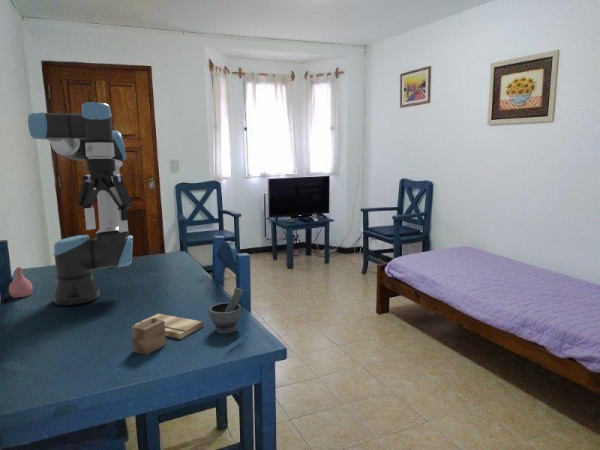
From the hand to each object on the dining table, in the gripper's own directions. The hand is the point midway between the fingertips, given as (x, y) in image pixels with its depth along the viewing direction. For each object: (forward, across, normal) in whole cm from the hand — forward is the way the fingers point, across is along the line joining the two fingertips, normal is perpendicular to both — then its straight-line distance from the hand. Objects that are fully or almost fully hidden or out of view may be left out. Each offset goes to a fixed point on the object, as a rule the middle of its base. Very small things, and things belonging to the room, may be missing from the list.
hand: (107, 230), depth 125 cm
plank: (+31, +15, +7) cm, 35 cm away
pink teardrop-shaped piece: (+31, -59, +8) cm, 67 cm away
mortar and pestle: (+31, +32, +14) cm, 47 cm away
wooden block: (+31, +20, -6) cm, 37 cm away
